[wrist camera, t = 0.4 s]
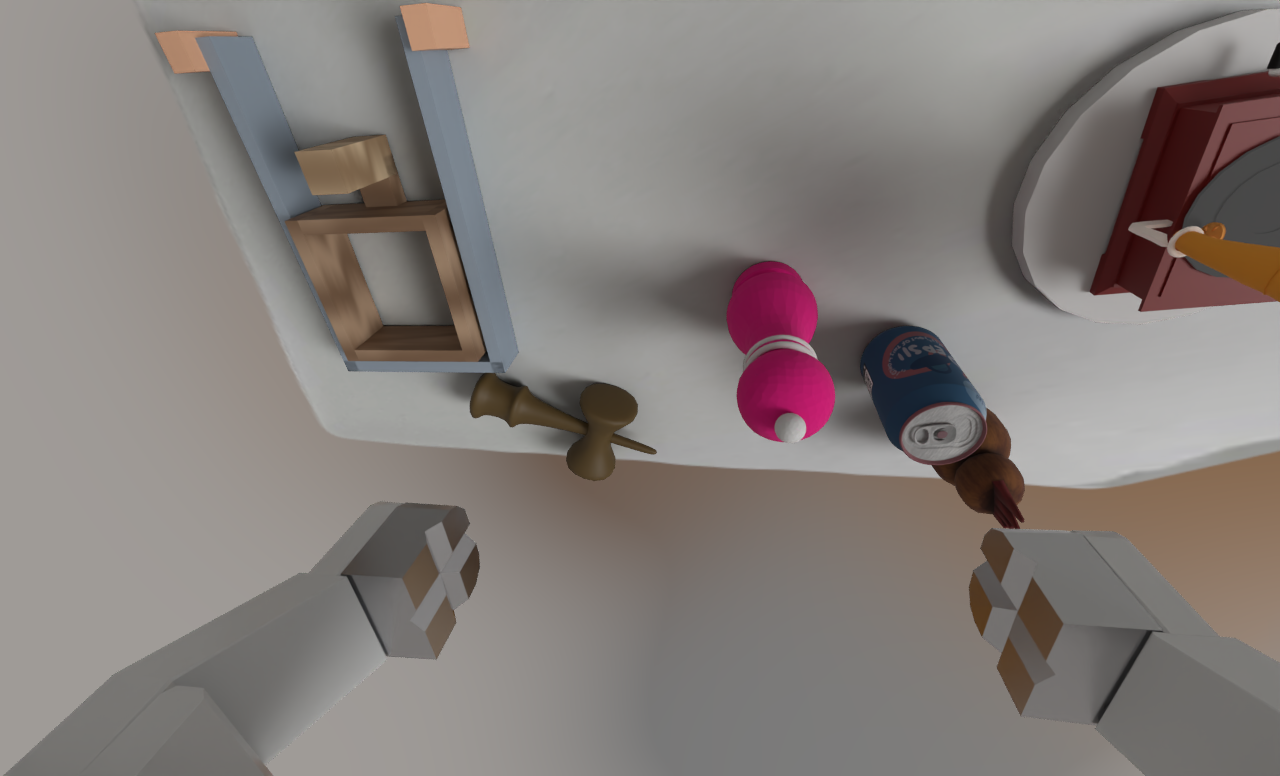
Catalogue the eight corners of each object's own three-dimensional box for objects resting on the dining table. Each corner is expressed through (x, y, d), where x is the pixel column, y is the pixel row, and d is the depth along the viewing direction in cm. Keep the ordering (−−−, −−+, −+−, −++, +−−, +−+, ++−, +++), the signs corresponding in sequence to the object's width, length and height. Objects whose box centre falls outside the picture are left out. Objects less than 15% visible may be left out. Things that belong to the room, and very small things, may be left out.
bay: (216, 34, 40) (154, 33, 35) (460, 7, 36) (425, 3, 32) (355, 351, 55) (325, 377, 51) (535, 352, 52) (518, 379, 48)
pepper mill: (728, 332, 48) (730, 484, 32) (724, 258, 44) (724, 387, 28) (808, 328, 47) (853, 483, 30) (811, 251, 43) (866, 381, 26)
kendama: (492, 340, 53) (674, 402, 53) (484, 408, 59) (648, 463, 59) (466, 371, 48) (666, 439, 49) (460, 442, 54) (639, 502, 54)
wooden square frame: (297, 140, 43) (231, 155, 37) (444, 130, 41) (398, 145, 35) (376, 336, 53) (335, 371, 48) (497, 336, 51) (469, 373, 46)
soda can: (941, 313, 44) (1003, 391, 34) (936, 379, 48) (991, 467, 38) (856, 326, 46) (891, 403, 36) (857, 389, 49) (890, 475, 40)
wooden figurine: (929, 383, 48) (1000, 501, 36) (994, 390, 48) (1088, 512, 35) (905, 438, 52) (961, 561, 40) (964, 445, 51) (1040, 572, 39)
